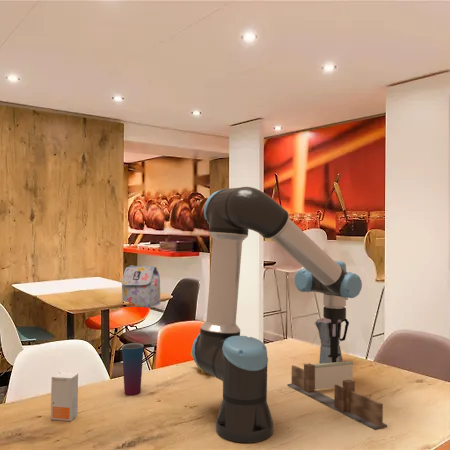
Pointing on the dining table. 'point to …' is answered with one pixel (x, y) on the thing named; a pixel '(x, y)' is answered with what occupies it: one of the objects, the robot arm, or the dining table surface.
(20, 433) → the dining table surface
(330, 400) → the fence
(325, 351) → the moka pot
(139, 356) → the cup
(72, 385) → the skincare box
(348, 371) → the beige flat panel
